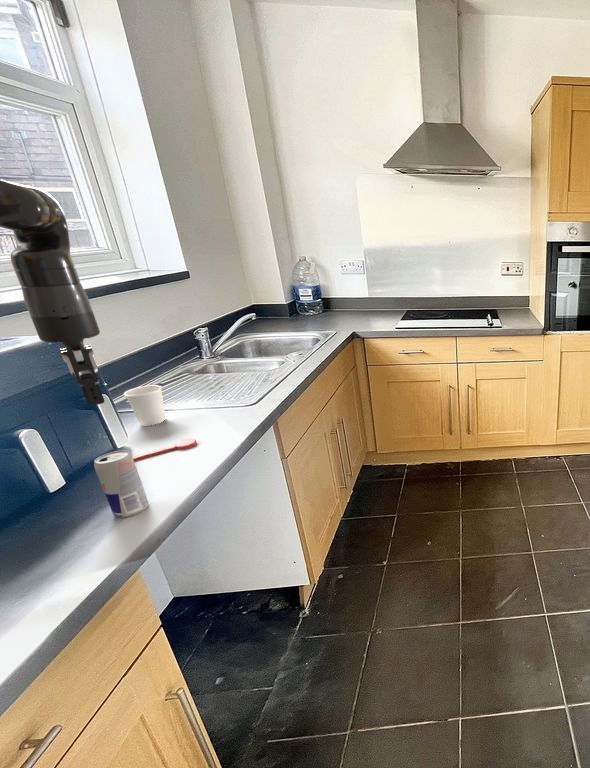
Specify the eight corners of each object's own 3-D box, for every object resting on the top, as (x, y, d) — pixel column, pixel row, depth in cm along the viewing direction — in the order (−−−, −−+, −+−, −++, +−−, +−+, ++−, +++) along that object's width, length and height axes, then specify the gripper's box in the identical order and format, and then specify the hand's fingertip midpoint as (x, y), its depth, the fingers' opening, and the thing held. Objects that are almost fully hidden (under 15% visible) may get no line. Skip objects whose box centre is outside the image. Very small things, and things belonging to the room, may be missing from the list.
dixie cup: (176, 420, 122) (166, 388, 119) (140, 430, 116) (129, 397, 112) (164, 413, 126) (155, 383, 123) (130, 423, 120) (118, 391, 117)
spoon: (115, 468, 97) (114, 465, 96) (114, 462, 100) (112, 458, 99) (198, 445, 108) (197, 442, 107) (194, 439, 110) (193, 436, 110)
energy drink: (119, 506, 83) (98, 453, 79) (152, 498, 86) (134, 447, 82) (109, 521, 79) (87, 466, 75) (145, 513, 81) (125, 459, 77)
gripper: (29, 309, 73) (64, 394, 79) (29, 319, 64) (68, 414, 70) (88, 304, 79) (116, 384, 84) (95, 313, 70) (126, 402, 75)
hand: (94, 398), depth 77 cm, fingers open, 8 cm apart
